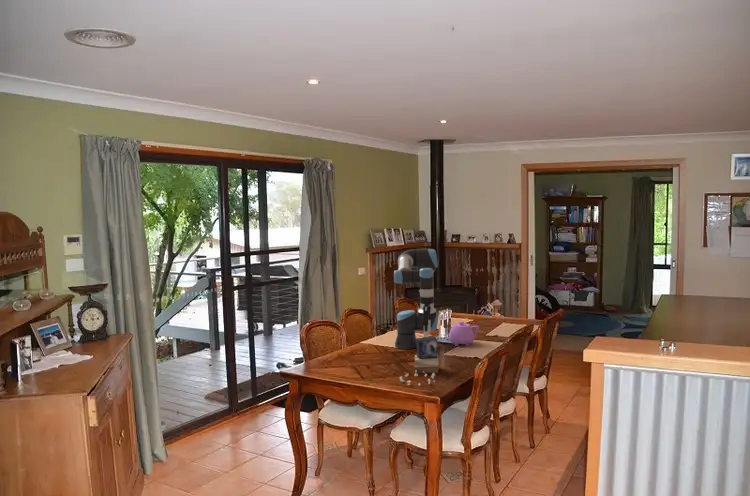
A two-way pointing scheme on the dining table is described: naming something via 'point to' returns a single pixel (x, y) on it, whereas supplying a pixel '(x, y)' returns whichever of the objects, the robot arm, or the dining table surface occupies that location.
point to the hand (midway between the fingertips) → (427, 334)
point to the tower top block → (426, 362)
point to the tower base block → (426, 369)
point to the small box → (427, 348)
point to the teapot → (462, 334)
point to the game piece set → (417, 375)
